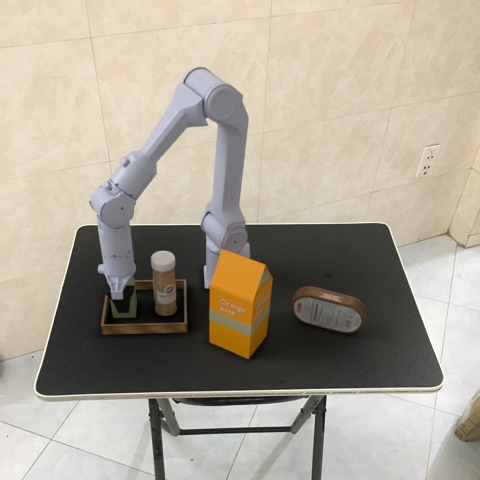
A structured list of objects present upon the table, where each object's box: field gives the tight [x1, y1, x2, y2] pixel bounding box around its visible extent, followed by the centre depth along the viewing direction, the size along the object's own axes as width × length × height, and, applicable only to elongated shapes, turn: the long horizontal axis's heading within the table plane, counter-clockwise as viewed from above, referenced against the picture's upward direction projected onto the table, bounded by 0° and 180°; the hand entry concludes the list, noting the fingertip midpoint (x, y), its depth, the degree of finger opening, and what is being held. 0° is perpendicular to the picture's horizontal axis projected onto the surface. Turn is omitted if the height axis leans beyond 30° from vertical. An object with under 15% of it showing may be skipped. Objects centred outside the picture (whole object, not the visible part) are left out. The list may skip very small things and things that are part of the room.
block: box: [109, 276, 138, 319], centre depth 110 cm, size 4×4×7 cm
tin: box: [290, 286, 369, 335], centre depth 109 cm, size 15×3×8 cm, turn 71°
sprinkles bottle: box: [150, 250, 178, 317], centre depth 109 cm, size 5×5×13 cm
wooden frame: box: [100, 278, 188, 336], centre depth 112 cm, size 16×14×2 cm
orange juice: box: [208, 249, 274, 360], centre depth 101 cm, size 8×9×20 cm
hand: (124, 303), depth 111 cm, fingers closed on block, 4 cm apart
